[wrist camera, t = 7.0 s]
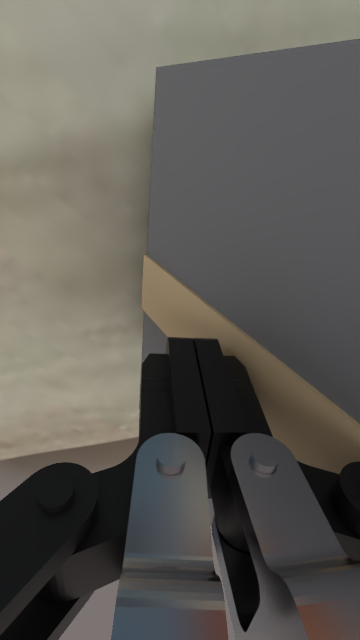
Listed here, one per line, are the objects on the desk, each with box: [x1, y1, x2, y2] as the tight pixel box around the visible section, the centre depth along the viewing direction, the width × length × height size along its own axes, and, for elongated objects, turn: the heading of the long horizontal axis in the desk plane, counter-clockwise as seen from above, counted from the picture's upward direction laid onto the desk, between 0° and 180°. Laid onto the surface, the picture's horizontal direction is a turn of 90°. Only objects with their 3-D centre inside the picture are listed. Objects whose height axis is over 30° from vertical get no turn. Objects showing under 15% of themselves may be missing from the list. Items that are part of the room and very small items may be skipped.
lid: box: [139, 39, 360, 527], centre depth 11 cm, size 12×15×1 cm
